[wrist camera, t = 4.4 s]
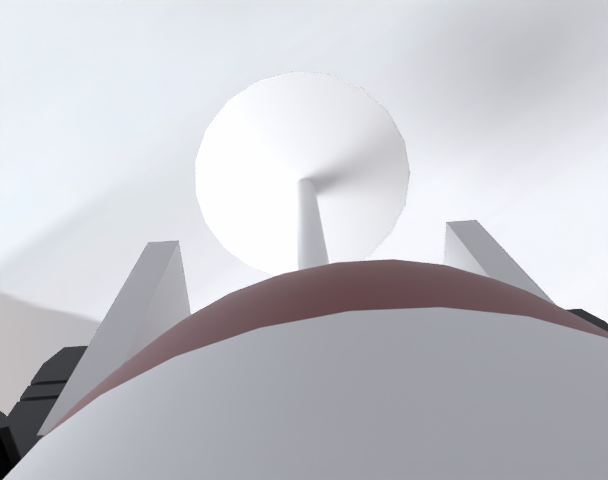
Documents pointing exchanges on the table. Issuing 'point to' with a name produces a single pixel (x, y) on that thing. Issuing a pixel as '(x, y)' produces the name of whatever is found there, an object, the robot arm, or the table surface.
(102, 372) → the robot arm
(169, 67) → the table surface
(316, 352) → the wineglass
